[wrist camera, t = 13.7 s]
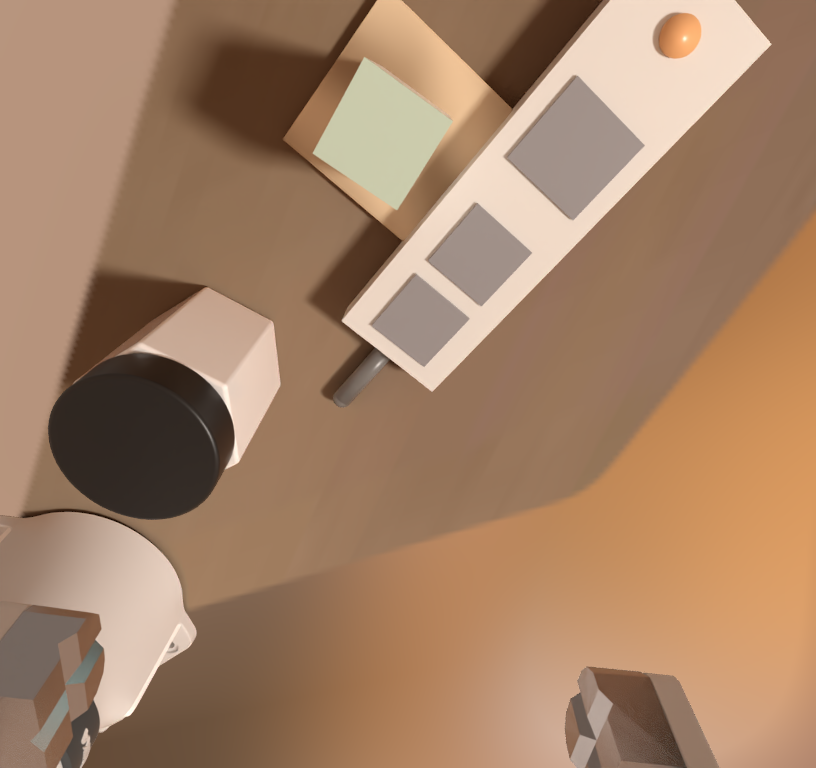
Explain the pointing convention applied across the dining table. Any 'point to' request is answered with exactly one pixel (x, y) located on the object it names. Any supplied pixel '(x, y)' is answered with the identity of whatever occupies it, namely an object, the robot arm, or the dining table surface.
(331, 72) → the coaster
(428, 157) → the block
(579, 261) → the dining table surface
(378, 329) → the power strip
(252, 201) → the dining table surface
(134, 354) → the jar
